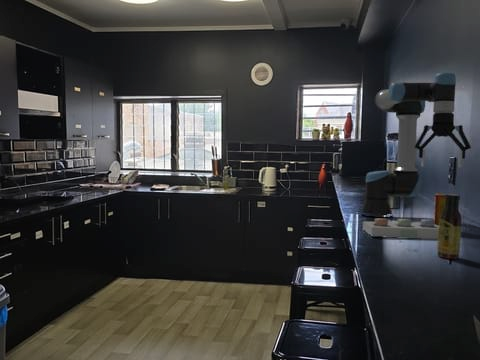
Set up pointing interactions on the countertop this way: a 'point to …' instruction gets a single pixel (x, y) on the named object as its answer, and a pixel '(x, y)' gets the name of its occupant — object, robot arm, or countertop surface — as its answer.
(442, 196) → the baking soda box
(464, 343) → the countertop surface
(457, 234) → the sauce bottle
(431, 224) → the slate button
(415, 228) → the button console
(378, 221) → the terracotta button
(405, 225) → the sage button
